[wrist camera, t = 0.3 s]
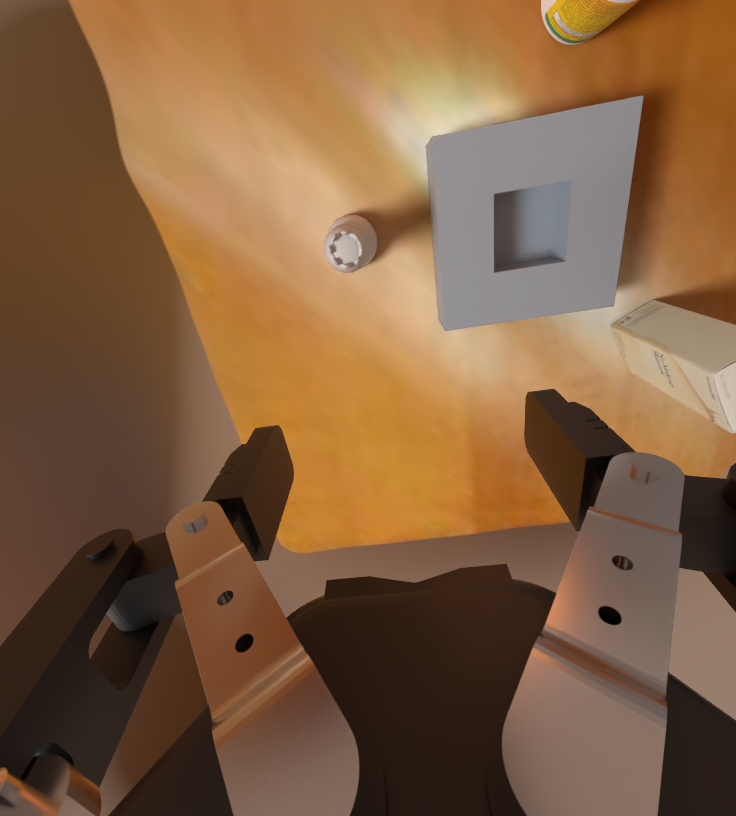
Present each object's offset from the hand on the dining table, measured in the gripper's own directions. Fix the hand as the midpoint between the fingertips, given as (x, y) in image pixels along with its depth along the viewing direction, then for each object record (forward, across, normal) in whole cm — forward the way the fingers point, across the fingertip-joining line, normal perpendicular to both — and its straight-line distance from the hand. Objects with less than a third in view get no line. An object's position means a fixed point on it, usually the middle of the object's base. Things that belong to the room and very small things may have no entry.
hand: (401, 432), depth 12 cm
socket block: (+26, -12, -3) cm, 28 cm away
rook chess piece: (+26, +2, -4) cm, 26 cm away
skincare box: (+26, -24, +9) cm, 36 cm away
